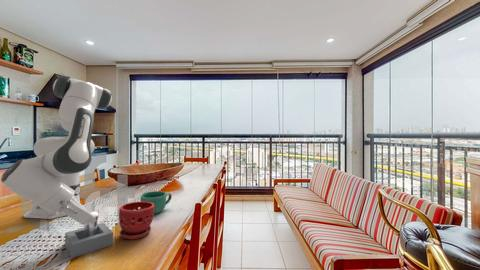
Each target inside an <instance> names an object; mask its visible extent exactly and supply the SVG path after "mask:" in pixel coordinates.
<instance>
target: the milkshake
mask: <svg viewBox="0 0 480 270" xmlns="http://www.w3.org/2000/svg"><path fill="white" fill-rule="evenodd" d="M89 212H90V211H89ZM90 213H91V214H92V217H94V218H95V219H96V220H97V221H96V222H95V223H94V224H91V223H89V222H87V223H86V224H83V226H84V227H83V228H85V238H87V237H90V236H94V235H96V231H97V224H99V217H100V216H99V215H100V214H99V213H98V211H95V210H94V211H91V212H90Z"/></svg>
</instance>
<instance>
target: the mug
mask: <svg viewBox="0 0 480 270" xmlns="http://www.w3.org/2000/svg"><path fill="white" fill-rule="evenodd" d="M167 196H168V198H167ZM171 200H172V194H171V192H165V191H161V190H160V191H158V190H156V191H155V190H154V191H148V192H147V191H146V192H145V193H142V194H141V195H140V202H151V203H153V204H154V205H155V206H154V215H155V214H159V213H161V212H162V211H163V210H165V208H166V205H168V204H169V203H170V201H171ZM144 209H146V208H144Z"/></svg>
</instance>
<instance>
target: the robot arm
mask: <svg viewBox="0 0 480 270" xmlns="http://www.w3.org/2000/svg"><path fill="white" fill-rule="evenodd" d="M52 90H53V94H54V95H55V97H57V98H59V99H62V100H61V103H60V106H59V110H58V115H59V116H60V118H61V120H60V126H61V127H62V129H63V130H65V131H67V132H68V135H67V136H49V137H48V136H47V137H41V138H39V139H38V140H37V141H36V142H35V143H34V145H33V152H34V154H35V157H32V158H27V159H20V160H18V161H15V162H14V163H13V164H12V165H10V166H9V167H8V168H7V169H6V170H5V171H4V172H3V174H2V176H1V179H0V181H1V183H2V184H3V185H4V186H5V187H6V188H7V189H8V190H9V191H11V192H13V193H14V194H16V195H18V196H19V197H21V198H23V199H26V200H29V201H32V204H31V206H30V210H29V211H27V212H25V213H24V214H23V216H22V217H23V218H28V219H29V218H30V219H45V220H47V219H48V220H53V219H57V218H61V217H65V216H68V217H70V218H71V219H72V220H74V221H75V222H77V223H79V224H81V225H84V224H86V223H87V222H89V223H91V224H94V223H95V222H96V221H97V220H96V219H95V218H94V217H92V214H91V213H90V211H89V210H88V209H87V208H86V207H85V206H84V205H83V204H82V203H81V200H80V199H81V198H80V191H81V183H80V172H81V173H82V172H84V171H85V170H87V168H89V166H90V165H91V163H92V157H93V156H92V154H93V152H94V151H95V149H96V148H95V147H96V145H95V143H94V141H93V139H92V136H93V130H94V125H95V112H96V109H97V110H105V109H108V107H109V106H111V104H112V101H113V96H112V92H111V90H109V89H107V88H104V87H101V86H99V85H97V84H95V83H92V82H89V81H85V80H81V79H78V78H73V77H71V76H67V75H61V76H58V78H56V79H55V81H54V82H53V85H52Z"/></svg>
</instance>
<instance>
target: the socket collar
mask: <svg viewBox="0 0 480 270" xmlns="http://www.w3.org/2000/svg"><path fill="white" fill-rule="evenodd" d="M113 244H114V232H113V231H112V230H111V229H110V227H108V225H106V224H105V223H104V222H101V223H97V231H96V235H94V236H90V237H87V238H85V228H84V227H82V228H78V229H73V230H70V231H65V233H64V246H65V248H66V250H67V252H68V254H69V255H70V257H71V259H74V258H76V257H77V258H78V257H80V256H83V255H86V254H89V253H92V252H94V251H98V250H101V249H103V248H106V247H109V246H113Z"/></svg>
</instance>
